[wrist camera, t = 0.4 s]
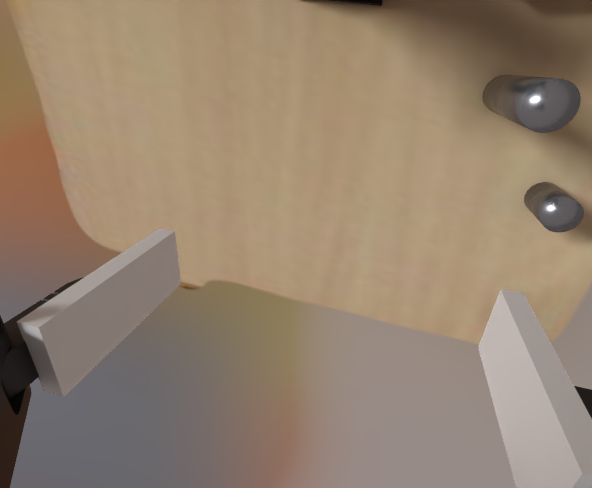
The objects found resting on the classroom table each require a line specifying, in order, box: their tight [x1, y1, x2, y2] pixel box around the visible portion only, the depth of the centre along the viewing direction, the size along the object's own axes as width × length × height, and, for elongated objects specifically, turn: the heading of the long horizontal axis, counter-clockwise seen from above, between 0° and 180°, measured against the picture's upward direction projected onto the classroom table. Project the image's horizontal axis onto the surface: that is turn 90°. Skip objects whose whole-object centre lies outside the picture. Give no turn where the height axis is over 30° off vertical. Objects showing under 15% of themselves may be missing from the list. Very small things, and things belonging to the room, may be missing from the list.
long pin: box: [483, 75, 580, 133], centre depth 26 cm, size 3×3×12 cm
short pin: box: [524, 182, 584, 232], centre depth 32 cm, size 3×3×5 cm
